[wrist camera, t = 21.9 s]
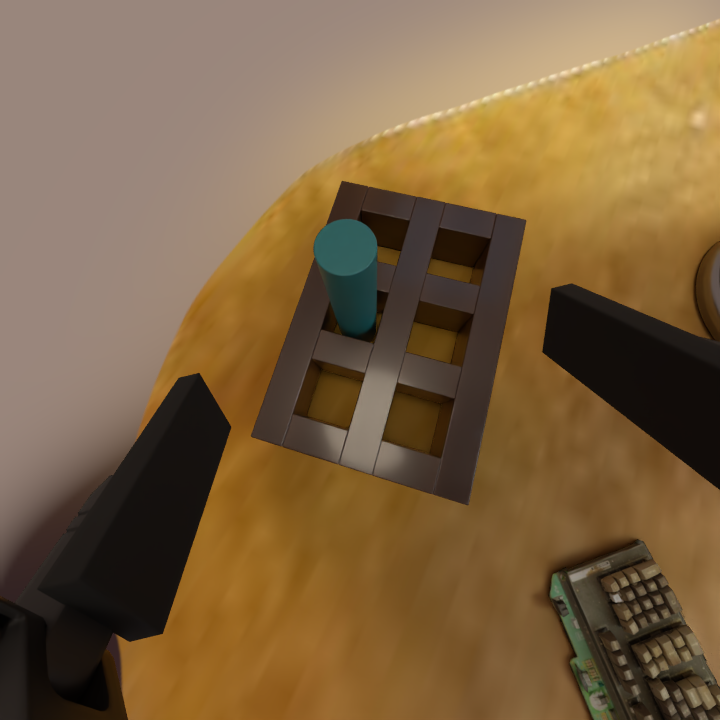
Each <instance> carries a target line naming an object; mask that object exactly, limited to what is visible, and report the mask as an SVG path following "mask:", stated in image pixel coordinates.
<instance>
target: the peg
mask: <svg viewBox="0 0 720 720" xmlns="http://www.w3.org/2000/svg"><path fill="white" fill-rule="evenodd" d="M314 256H315V259H316V262H317V265H318V268H319V271H320V274H321V276H322V279H323V282H324V285H325V288H326V291H327V294H328V297H329V299H330V302H331V305H332V308H333V311H334V314H335V317H336V319H337V322H338V325H339V328H340V331H341V334H342V335H344V336H348V337H351V338H355V339H359V340H363V341H366V342H371V341H372V340H373V338H374V337H375V334H376V314H377V240H376V237H375V235H374V233H373V232H372V231H371V229H370V228H369V227H368V226H366V225H365V224H363V223H362V222H359V221H357V220H352V219H341V220H337V221H334V222H331V223H329V224H328V225H326V226H325V227H324V228H323V229H322V230H321V231H320V232H319V233H318V235H317V237H316V239H315V242H314Z"/></svg>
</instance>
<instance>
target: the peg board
mask: <svg viewBox="0 0 720 720" xmlns="http://www.w3.org/2000/svg"><path fill="white" fill-rule="evenodd" d="M341 219H352V220H357V221H359V222H362V223H363V224H365V225H366V226H368V227H369V228H370V229H371V231H372V232H373V233H374V235H375V237H376V240H377V245H379V246H383V247H388V248H392V249H396V250H401V253H400V257H399V260H398V263H397V267H396V266H394V265H390V264H386V263H382V262H377V312H381V313H383V315H382V318H381V322H380V325H379V328H378V332H377V335H376V339H375V342H374V344H373V343H370V342H366V341H363V340H359V339H355V338H351V337H348V336H344V335H340V334H336V333H333V332H334V329H335V326H336V323H337V319H336V317H335V314H334V311H333V308H332V305H331V302H330V299H329V297H328V294H327V291H326V288H325V285H324V282H323V279H322V276H321V274H320V271H319V268H318V265H317V262H316V259H315V258H314V261H313V263H312V266H311V269H310V272H309V275H308V277H307V280H306V283H305V286H304V289H303V291H302V294H301V297H300V300H299V303H298V305H297V308H296V311H295V314H294V317H293V319H292V322H291V325H290V328H289V331H288V333H287V336H286V339H285V342H284V345H283V347H282V350H281V353H280V356H279V359H278V361H277V364H276V367H275V370H274V373H273V375H272V378H271V381H270V384H269V387H268V389H267V392H266V395H265V398H264V401H263V404H262V406H261V409H260V412H259V415H258V418H257V420H256V423H255V426H254V429H253V432H252V434H251V437H253V438H256V439H259V440H263V441H266V442H269V443H272V444H275V445H278V446H283V447H285V448H288V449H291V450H294V451H297V452H301V453H304V454H307V455H310V456H313V457H316V458H320V459H323V460H326V461H329V462H332V463H335V464H339V465H341V466H345V467H348V468H351V469H354V470H357V471H360V472H364V473H367V474H370V475H373V476H376V477H379V478H382V479H386V480H389V481H392V482H395V483H398V484H401V485H405V486H408V487H411V488H414V489H417V490H420V491H424V492H427V493H430V494H434V495H436V496H440V497H443V498H446V499H449V500H452V501H455V502H459V503H462V504H465V505H469V501H470V496H471V491H472V486H473V481H474V476H475V471H476V466H477V461H478V457H479V452H480V447H481V442H482V437H483V432H484V427H485V422H486V417H487V412H488V407H489V402H490V397H491V392H492V388H493V383H494V378H495V373H496V368H497V363H498V358H499V353H500V348H501V343H502V338H503V333H504V328H505V324H506V319H507V314H508V309H509V304H510V299H511V294H512V289H513V284H514V279H515V274H516V269H517V264H518V259H519V255H520V250H521V245H522V240H523V235H524V230H525V225H526V220H524V219H520V218H515V217H510V216H505V215H501V214H497V215H496V213H492V212H487V211H482V210H477V209H473V208H468V207H463V206H459V205H454V204H449V203H445V202H440V201H436V200H431V199H426V198H421V197H415V196H411V195H406V194H401V193H396V192H392V191H387V190H382V189H378V188H373V187H369V188H368V186H364V185H359V184H354V183H349V182H345V181H342V182H341V185H340V188H339V190H338V193H337V196H336V199H335V202H334V204H333V207H332V210H331V213H330V216H329V219H328V221H327V224H326V225H328V224H329V223H331V222H334V221H337V220H341ZM430 258H435V259H439V260H443V261H447V262H452V263H456V264H460V265H465V266H469V267H474V268H473V272H472V276H471V280H470V283H466V282H462V281H457V280H453V279H449V278H445V277H441V276H436V275H432V274H428V273H427V269H428V266H429V262H430ZM426 273H427V274H426ZM413 321H416V322H419V323H423V324H427V325H431V326H435V327H439V328H443V329H447V330H451V331H455V332H458V336H457V340H456V344H455V348H454V353H453V357H452V361H451V364H449V363H445V362H441V361H438V360H434V359H430V358H426V357H423V356H419V355H415V354H411V353H408V352H405V351H406V347H407V344H408V340H409V336H410V333H411V329H412V325H413ZM321 370H324V371H327V372H331V373H334V374H338V375H341V376H345V377H348V378H352V379H355V380H359V381H362V382H363V383H362V386H361V390H360V393H359V397H358V400H357V403H356V407H355V410H354V414H353V417H352V420H351V424H350V427H349V429H347V428H344V427H341V426H338V425H334V424H331V423H328V422H324V421H321V420H318V419H314V418H311V417H308V416H306V415H307V412H308V409H309V406H310V403H311V400H312V397H313V394H314V391H315V387H316V384H317V381H318V378H319V375H320V372H321ZM395 391H397V392H401V393H405V394H408V395H412V396H415V397H419V398H422V399H426V400H429V401H433V402H436V403H440V404H441V408H440V412H439V416H438V421H437V425H436V429H435V433H434V438H433V442H432V446H431V450H430V453H427V452H424V451H420V450H417V449H414V448H410V447H407V446H404V445H400V444H397V443H394V442H391V441H387V440H384V439H382V437H383V433H384V429H385V425H386V422H387V418H388V414H389V411H390V407H391V403H392V399H393V396H394V392H395Z"/></svg>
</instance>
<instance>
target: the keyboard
mask: <svg viewBox="0 0 720 720" xmlns="http://www.w3.org/2000/svg"><path fill="white" fill-rule="evenodd" d="M661 571H662V570H661V569H660V568H659V566H658V565H657V563H656V562H655V561H654V560H653V558H652V556H651V554H650V552H649V550H648V549H647V547H646V545H645V543H644V542H643V541H641V540H638V539H637V540H636V541H635V543H633V544H632V545H630V546H628V547H625V548H623V549H621V550H618V551H615V552H612V553H609V554H606V555H604V556H601V557H598V558H596V559H593V560H590V561H587V562H585V563H582V564H579V565H577V566H574V567H572V568H570V569H568V570H567V568H566V567H565V568H563V569H562V570H560V571H558V572H557V573H554V574H553V576H552V580H551V587H550V593H549V598H550V600H551V602H552V603H553V606H554V608H555V610H556V611H557V612H558V614H559V616H560V621H561V622H562V624H563V627H564V631H565V633H566V635H567V637H568V639H569V641H570V643H571V646H572V648H573V650H574V652H575V654H576V657H574V658H572V660H571V662H570V666H571V669H572V672H573V674H574V676H575V678H576V680H577V683H578V686H579V688H580V691H581V693H582V695H583V697H584V699H585V702H586V704H587V707H588V709H589V712H590V714H591V716H592V718H593V720H720V687H719V686H718V684H717V681H716V679H715V677H714V676H713V674H712V672H711V671H710V669H709V667H708V666H707V664H706V661H705V660H706V659H705V657H704V655H703V654H704V653H703V651H702V648H701V646H700V644H699V642H698V640H697V638H696V637H695V635H694V633H693V631H692V630H691V629H690V628H689V626H687V624H686V622H685V620H684V618H685V617H684V618H683V617H682V615H681V613H680V611H681V610H682V608H681V606H680V604H679V602H678V600H677V598H676V596H675V594H674V592H673V590H672V589H671V588H670V587H669V586H668V585H667V584H669V583H668V582H667V580H666V578H665V577H664V575H662V574H661ZM683 616H684V615H683Z"/></svg>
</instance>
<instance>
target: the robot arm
mask: <svg viewBox="0 0 720 720" xmlns="http://www.w3.org/2000/svg"><path fill="white" fill-rule="evenodd" d="M696 297H697V302H698V307H699V310H700V313H701V316H702V318H703V320H704V323H705V324H706V326H707V328H708V330H709V332H710V333H711V335H712V336H713V337H714V339H715V340H716V341H715V340H711V339H706V338H702V337H698V336H696V335H693V334H691V333H689V332H686V331H684V330H681V329H679V328H677V327H674V326H672V325H670V324H667V323H665V322H662V321H660V320H658V319H655V318H653V317H651V316H648V315H646V314H643V313H641V312H639V311H636V310H634V309H631V308H629V307H627V306H624V305H622V304H620V303H617V302H615V301H612V300H610V299H608V298H605V297H603V296H601V295H598V294H596V293H593V292H591V291H589V290H586V289H584V288H582V287H579V286H577V285H574V284H568V285H563V286H559V287H555V288H551V295H550V302H549V309H548V316H547V323H546V330H545V337H544V344H543V351H542V352H543V353H544V354H545V355H547V356H548V357H549V358H551V359H552V360H553V361H554V362H556V363H557V364H558V365H560V366H561V367H562V368H563V369H565V370H566V371H567V372H569V373H570V374H571V375H572V376H574V377H575V378H576V379H578V380H579V381H580V382H581V383H583V384H584V385H585V386H587V387H588V388H589V389H590V390H592V391H593V392H594V393H596V394H597V395H598V396H599V397H601V398H602V399H603V400H605V401H606V402H607V403H609V404H610V405H611V406H612V407H614V408H615V409H616V410H618V411H619V412H620V413H621V414H623V415H624V416H625V417H627V418H628V419H629V420H630V421H632V422H633V423H634V424H636V425H637V426H638V427H639V428H641V429H642V430H643V431H645V432H646V433H647V434H648V435H650V436H651V437H652V438H654V439H655V440H656V441H657V442H659V443H660V444H661V445H663V446H664V447H665V448H666V449H668V450H669V451H670V452H672V453H673V454H674V455H675V456H677V457H678V458H679V459H681V460H682V461H683V462H684V463H686V464H687V465H688V466H690V467H691V468H692V469H694V470H695V471H696V472H697V473H699V474H700V475H701V476H703V477H704V478H705V479H706V480H708V481H709V482H710V483H712V484H713V485H714V486H715V487H717V488H718V489H719V490H720V241H719V242H717V243H716V244H715V245H714V246H713V247H712V248H711V249H710V250H709V251H708V253H707V254H706V255H705V257H704V259H703V260H702V262H701V265H700V267H699V270H698V274H697V279H696ZM230 430H231V426H230V424H229V422H228V421H227V419H226V417H225V415H224V414H223V412H222V410H221V409H220V407H219V405H218V404H217V402H216V400H215V399H214V397H213V395H212V394H211V392H210V390H209V388H208V387H207V385H206V383H205V382H204V380H203V378H202V377H201V375H200V373H197V374H193V375H189V376H185V377H180V378H178V380H177V381H176V383H175V384H174V386H173V387H172V389H171V390H170V392H169V393H168V395H167V396H166V398H165V399H164V401H163V402H162V403H161V405H160V406H159V408H158V409H157V411H156V412H155V414H154V415H153V417H152V418H151V420H150V421H149V423H148V424H147V426H146V427H145V429H144V430H143V432H142V433H141V435H140V436H139V438H138V439H137V441H136V442H135V444H134V445H133V447H132V448H131V450H130V451H129V453H128V454H127V456H126V457H125V459H124V460H123V461H122V463H121V464H120V466H119V467H118V469H117V470H116V472H115V473H114V475H111V476H109V477H108V478H107V479H106V480H105V481H104V482H103V483H102V484H101V485H100V486H99V487H98V488H97V489H96V490H95V491H94V492H93V493H92V494H91V495H90V497H89V498H88V499H87V501H86V502H85V504H84V505H83V506H82V508H81V509H80V511H79V512H78V516H77V517H75V518H74V519H73V521H72V522H71V524H70V525H69V526H68V528H67V532H66V533H65V534H63V535H62V536H61V538H60V539H59V541H58V542H57V543H56V545H55V547H54V548H53V549H52V551H51V552H50V553H49V555H48V556H47V558H46V559H45V560H44V562H43V563H42V565H41V566H40V568H39V569H38V571H37V572H36V573H35V575H34V576H33V578H32V579H31V580H30V582H29V583H28V585H27V586H26V588H25V589H24V590H23V592H22V593H21V595H20V596H19V598H18V599H17V600H16V602H15V603H13V602H11V601H9V600H7V599H5V598H3V597H1V596H0V720H128V717H127V713H126V709H125V705H124V700H123V696H122V692H121V687H120V683H119V679H118V675H117V670H116V666H115V661H114V658H113V656H112V655H111V653H110V652H109V651H108V650H106V647H107V645H108V643H109V640H110V638H111V636H112V633H115V634H117V635H118V636H120V637H122V638H124V639H126V640H127V641H129V642H131V641H135V640H139V639H143V638H147V637H151V636H155V635H159V634H163V631H164V628H165V625H166V622H167V619H168V616H169V613H170V610H171V607H172V604H173V601H174V598H175V595H176V592H177V589H178V586H179V583H180V580H181V577H182V574H183V571H184V568H185V565H186V562H187V559H188V556H189V553H190V550H191V547H192V544H193V541H194V538H195V535H196V532H197V529H198V526H199V523H200V520H201V517H202V514H203V511H204V508H205V505H206V502H207V499H208V496H209V493H210V490H211V487H212V484H213V481H214V478H215V475H216V472H217V469H218V466H219V463H220V460H221V457H222V454H223V451H224V448H225V445H226V442H227V439H228V436H229V433H230Z"/></svg>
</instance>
